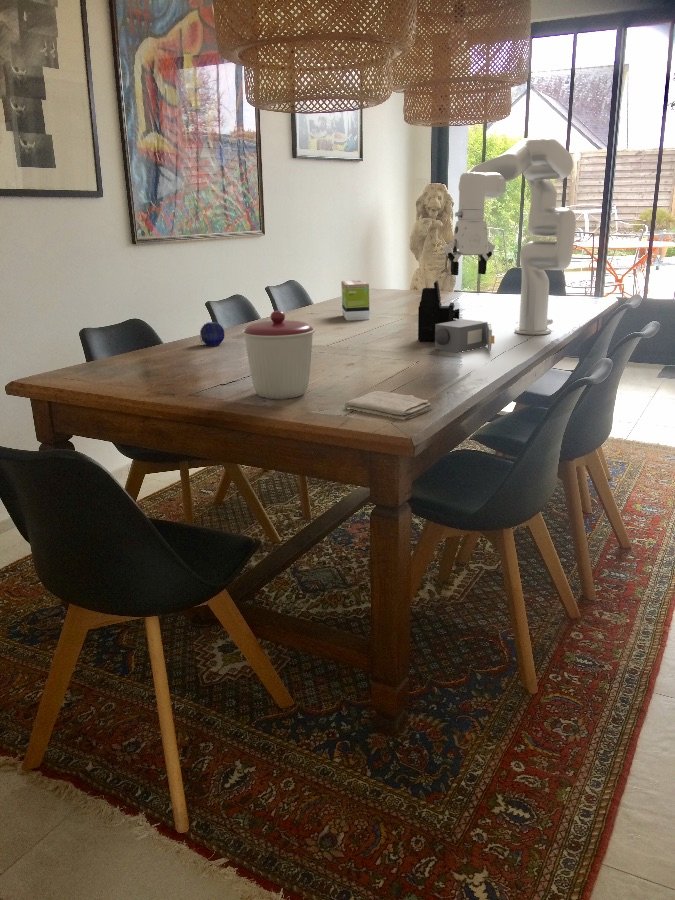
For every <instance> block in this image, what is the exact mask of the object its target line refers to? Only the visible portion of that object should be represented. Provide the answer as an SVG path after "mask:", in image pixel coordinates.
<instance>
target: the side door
mask: <svg viewBox="0 0 675 900" xmlns="http://www.w3.org/2000/svg"><path fill="white" fill-rule="evenodd" d="M486 344H487V350H488V352H491V351H492V344H493V345H494V344H495V335H494V334H493V329H492V324H491V323H488V324H487V341H486Z"/></svg>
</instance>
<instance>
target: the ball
mask: <svg viewBox="0 0 675 900" xmlns="http://www.w3.org/2000/svg"><path fill="white" fill-rule="evenodd" d="M199 332H200V333H199V334H200V335H199V343H200V345H202V346H205V345H207V346H209V345H210V346H209V347H214V345H217V346H219V345H221V343H222V342H224V340H225V329H224V328H223V326H222V325H221V324H220V323H219V322H215V321H211V322H206V323H204V324H203V325H202V327H200V330H199ZM200 345H199V346H200Z"/></svg>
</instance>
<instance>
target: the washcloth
mask: <svg viewBox="0 0 675 900" xmlns="http://www.w3.org/2000/svg"><path fill="white" fill-rule="evenodd" d="M432 406H433V405H432V403H430V402H429V399H422V398H419V397H415V396H414V394H408V395H407V394H400V393H396V392H386V391H383V390H382V391H381V390H374V391H371V392H368V393H366V394H365V395H362V396H361V397H360V396H359V397H356V398H355V397H354V398H353V399H350V400H347V401H345V403H344V409H346V408H350V409H354V410H353V411H355V410H359V411H358V412H360V411H362V412H361V413H365V412H366V414H370V413H371V414H372V415H376V414H377V416H381V415H382V417H387V416H388V418H391V417H392V418H393V419H397V420H401V419H402V420H401V421H405V420H407V419H412V418H414V417H417V416H419V415H422V414H424V413H427V412H429V411H431V410H432V409H433V407H432ZM392 418H391V419H392Z"/></svg>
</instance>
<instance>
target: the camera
mask: <svg viewBox="0 0 675 900" xmlns="http://www.w3.org/2000/svg"><path fill="white" fill-rule="evenodd" d="M439 285H440V284H439V281H438V280H435V281H434V282H433V287H423V288H422V290H421V291H422V292H421V298H420V301H419V306H418V310H417V311H418V313H417V314H418V315H417V316H418V317H417V320H418V322H417V324H418V325H417V326H418V327H417V330H418V331H417V332H418V333H417V340H418V342H420V343H426V342H427V343H432V342H433V343H435V324H440V323H445V322H451V321H456V320H460V308H455V306H456V305H455V303H454V302H450V303H449V305H442V302H441V298H442V297H441V292H440V286H439Z"/></svg>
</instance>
